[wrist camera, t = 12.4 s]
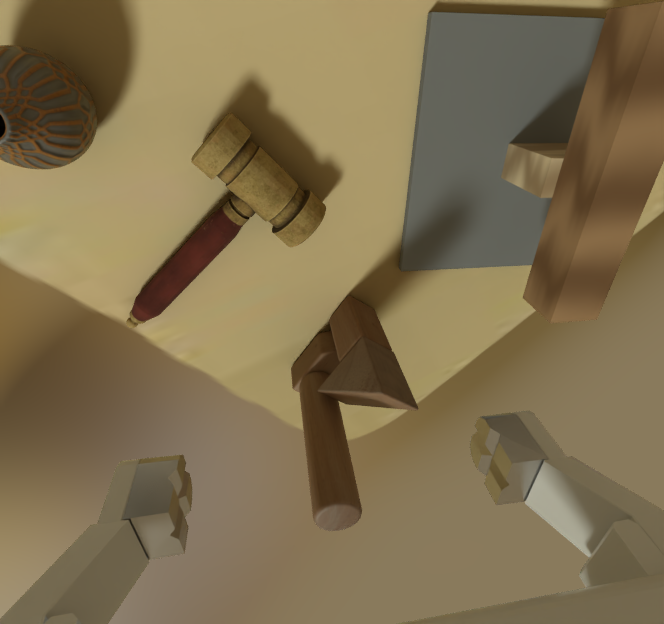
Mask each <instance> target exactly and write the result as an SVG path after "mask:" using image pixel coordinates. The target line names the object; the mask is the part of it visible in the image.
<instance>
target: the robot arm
mask: <svg viewBox="0 0 664 624" xmlns="http://www.w3.org/2000/svg"><path fill="white" fill-rule="evenodd" d="M475 427H476V429H477V432H476V433H475V434H474V435H473V436H472V437H471V441H470V451H471V456H472V459H473V462H474V464H475V466H476V468H477V469H478V470H479V471H480V472H482V473H483V474H484V475H486V478H485V485H486V487H487V489H488V491H489V493H490V495H491V497H492V498H493V500H494V502H495V504H496V505H501V504H508V503H516V502H524V501H526V502H525V504H526V505H528V506H529V507H530V508H531V509H532V510H534V511H535V512H536V513H537V514H538V515H539V516H541V517H542V518H543V519H544V520H545V521H547V522H548V523H549V524H550V525H551V526H552V527H554V528H555V529H556V530H557V531H558V532H560V533H561V534H562V535H563V536H564V537H566V538H567V539H568V540H569V541H570V542H571V543H573V544H574V545H575V546H576V547H577V548H579V549H580V550H581V551H582V552H583V553H584V554H586V555H587V556H588V557H589V559H588V561H587V562H586V563H585V565H584V566H583V568H582V569H581V572H580V575H579V576H580V578H581V579H582V581H583V583H584V585H585V586H586V588H582V589H577V590H572V591H567V592H561V593H556V594H551V595H545V596H541V597H535V598H530V599H525V600H519V601H514V602H509V603H503V604H498V605H493V606H488V607H482V608H477V609H472V610H466V611H461V612H456V613H450V614H445V615H440V616H435V617H429V618H424V619H419V620H414V621H408V622H403V623H398V624H664V510H662V509H661V508H659V507H657V506H656V505H654V504H652V503H651V502H649V501H647V500H645V499H644V498H642V497H640V496H639V495H637V494H635V493H634V492H632V491H630V490H628V489H627V488H625V487H623V486H622V485H620V484H618V483H617V482H615V481H613V480H611V479H610V478H608V477H606V476H605V475H603V474H601V473H600V472H598V471H596V470H595V469H593V468H591V467H589V466H588V465H586V464H584V463H583V462H581V461H579V460H577V459H576V458H574V457H572V456H570V457H567V456H566V455H565V453H564V452H563V451H562V449H561V448H560V447H559V446H558V444H557V443H556V442H555V440H554V439H553V438H552V437H551V435H550V434H549V433H548V431H547V430H546V429H545V428H544V426H543V425H542V423H541V422H540V421H539V419H538V418H537V417H536V416H535V414H534V413H533V412H531V411H522V412H514V413H503V414H496V415H489V416H482V417H479V418H478V419H477V420H476V423H475ZM185 465H186V462H185V459H184V456H183V455H175V456H166V457H155V458H145V459H136V460H128V461H121V462H120V463H119V464H118V466H117V467H116V469H115V473H114V476H113V479H112V482H111V485H110V487H109V491H108V494H107V497H106V500H105V502H104V505H103V508H102V511H101V514H100V517H99V520H98V523H97V524H93V525H90V526H89V527H88V528H87V529H86V531H84V533H83V534H82V535H81V536H80V537H79V538H78V539H77V540H76V541H75V542H74V543H73V544H72V545H71V546H70V547H69V548H68V549H67V550H66V551H65V552H64V554H62V555H61V556H60V557H59V559H57V561H56V562H55V563H54V564H53V565H52V566H51V567H50V568H49V569H48V570H47V571H46V572H45V573H44V574H43V575H42V576H41V577H40V578H39V579H38V580H37V581H36V582H35V583H34V584H33V585H32V587H30V589H29V590H28V591H27V592H26V593H25V594H24V595H23V596H22V597H21V598H20V599H19V600H18V601H17V602H16V603H15V604H14V605H13V606H12V607H11V608H10V609H9V610H8V611H7V612H6V613H5V615H4V616H2V618H1V619H0V624H108V623H109V621H110V620H111V618H112V617H113V615H114V614H115V612H116V611H117V609H118V608H119V606H120V605H121V603H122V602H123V601H124V599H125V598H126V596H127V595H128V593H129V592H130V590H131V589H132V587H133V586H134V584H135V583H136V581H137V580H138V578H139V577H140V575H141V573H142V572H143V571H144V569H145V568H146V566H147V565H148V563H149V561H148V560H152V559H158V558H163V557H169V556H174V555H180V554H184V553H185V546H186V540H187V532H188V525H187V522H186V519H185V517H186V515H187V514H188V513H189V512H190V511H191V504H192V484H191V477H190V474H189V473H188V472H186V471H185Z"/></svg>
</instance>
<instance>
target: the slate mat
mask: <svg viewBox="0 0 664 624" xmlns="http://www.w3.org/2000/svg"><path fill="white" fill-rule="evenodd" d="M604 20H605V18H583V17H556V16H529V15H502V14H475V13H448V12H430V13H428V20H427V29H426V37H425V46H424V55H423V63H422V72H421V81H420V89H419V98H418V106H417V115H416V124H415V132H414V141H413V150H412V158H411V167H410V175H409V184H408V193H407V201H406V210H405V219H404V227H403V236H402V245H401V253H400V262H399V269H400V270H401V271H418V270H438V269H458V268H479V267H499V266H520V265H532V264H533V261H534V258H535V254H536V251H537V247H538V244H539V241H540V237H541V234H542V230H543V227H544V224H545V220H546V217H547V214H548V210H549V207H550V203H551V200H552V198H540V197H538V196H536V195H534V194H532V193H530V192H528V191H526V190H524V189H522V188H520V187H518V186H516V185H514V184H512V183H510V182H508V181H506V180H504V179H502V178H501V175H502V171H503V167H504V162H505V158H506V154H507V149H508V145H509V143H568V142H569V139H570V136H571V132H572V129H573V125H574V122H575V119H576V115H577V112H578V108H579V105H580V102H581V98H582V95H583V91H584V88H585V85H586V81H587V78H588V74H589V71H590V68H591V64H592V61H593V58H594V54H595V51H596V47H597V44H598V41H599V37H600V34H601V30H602V27H603V24H604Z"/></svg>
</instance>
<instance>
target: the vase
mask: <svg viewBox="0 0 664 624" xmlns="http://www.w3.org/2000/svg"><path fill="white" fill-rule="evenodd" d="M96 129H97V115H96V109H95V105H94V102H93V100H92V97H91V95H90V93H89V92H88V90H87V88H86V87H85V85H84V84H83V83H82V81H81V80H80V79H79V78H78V77H77V76H76V75H75V74H74V73H73V72H72V71H71V70H70V69H69V68H68V67H67V66H65V65H64V64H63V63H61V62H60V61H58V60H57V59H55V58H53V57H51V56H49V55H47V54H45V53H43V52H40V51H38V50H35V49H31V48H27V47H21V46H12V45H2V46H0V159H1V160H3V161H5V162H7V163H10V164H13V165H16V166H20V167H24V168H30V169H53V168H58V167H62V166H65V165H67V164H70V163H72V162H73V161H75V160H76V159H78V158H79V157H81V156H82V155H83V154H84V153H85V152H86V151H87V150H88V149H89V147H90V146H91V144H92V142H93V139H94V137H95V134H96Z"/></svg>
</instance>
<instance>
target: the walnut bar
mask: <svg viewBox="0 0 664 624" xmlns="http://www.w3.org/2000/svg"><path fill="white" fill-rule="evenodd" d="M663 161H664V1H661V2H654V3H647V4H640V5H633V6H626V7H618V8H611V9H608V10H607V13H606V17H605V20H604V24H603V27H602V30H601V34H600V37H599V41H598V44H597V47H596V51H595V54H594V58H593V61H592V64H591V68H590V71H589V74H588V78H587V81H586V85H585V88H584V91H583V95H582V98H581V102H580V105H579V108H578V112H577V115H576V119H575V122H574V125H573V129H572V132H571V136H570V139H569V142H568V146H567V149H566V152H565V156H564V159H563V163H562V166H561V169H560V173H559V176H558V180H557V183H556V186H555V190H554V193H553V197H552V200H551V203H550V207H549V210H548V214H547V217H546V220H545V224H544V227H543V230H542V234H541V237H540V241H539V244H538V247H537V251H536V254H535V258H534V261H533V264H532V268H531V271H530V275H529V278H528V281H527V285H526V288H525V292H524V295H523V299H525V300H526V301H527V302H528V303H529V304H530V305H531V306H532V307H533V308H534V309H535V310H536V311H538V312H539V313H540V314H541V315H542V316H543V317H544V318H545V319H546V320H547V321H548V322H549V323H560V322H572V321H585V320H595V319H596V320H597V318H598V316H599V313H600V311H601V309H602V306H603V304H604V301H605V299H606V297H607V294H608V291H609V290H610V287H611V285H612V282H613V280H614V278H615V275H616V273H617V271H618V268H619V266H620V263H621V261H622V258H623V256H624V254H625V252H626V249H627V247H628V244H629V242H630V240H631V237H632V235H633V233H634V230H635V228H636V225H637V223H638V221H639V218H640V216H641V214H642V211H643V209H644V206H645V204H646V202H647V199H648V197H649V195H650V192H651V190H652V187H653V185H654V183H655V180H656V178H657V176H658V173H659V171H660V168H661V166H662V164H663Z"/></svg>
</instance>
